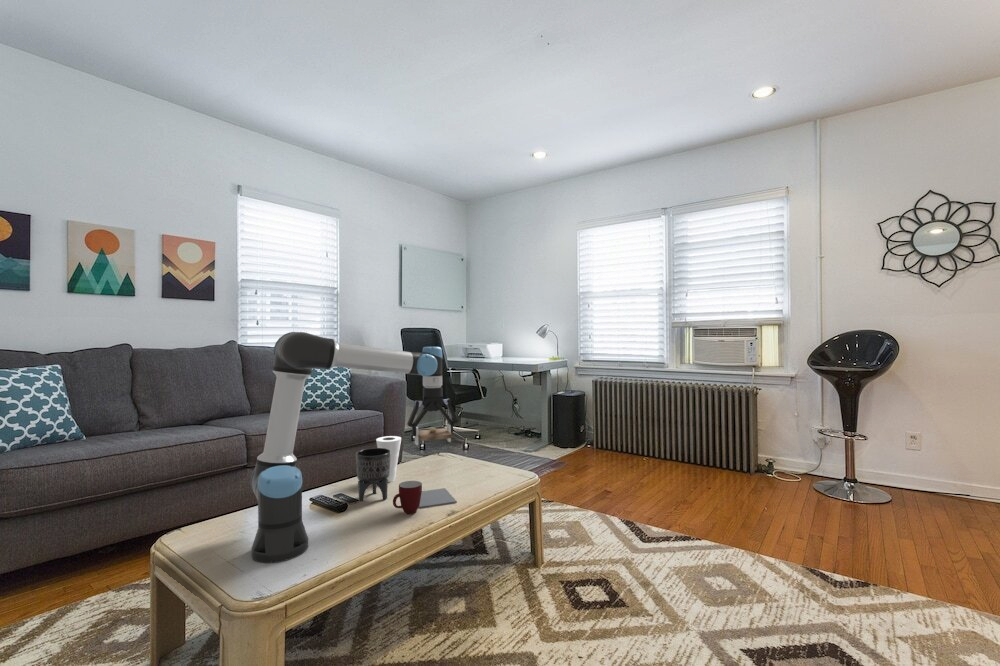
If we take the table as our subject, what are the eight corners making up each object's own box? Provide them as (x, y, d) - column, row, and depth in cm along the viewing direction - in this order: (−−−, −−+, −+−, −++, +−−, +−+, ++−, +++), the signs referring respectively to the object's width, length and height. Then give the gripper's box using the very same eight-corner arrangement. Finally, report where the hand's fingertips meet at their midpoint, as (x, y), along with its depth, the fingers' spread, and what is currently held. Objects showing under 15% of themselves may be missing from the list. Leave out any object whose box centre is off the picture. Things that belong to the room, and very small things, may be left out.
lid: (421, 441, 170) (421, 433, 170) (414, 434, 181) (414, 427, 181) (452, 437, 175) (452, 430, 175) (443, 431, 186) (443, 424, 186)
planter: (365, 506, 170) (364, 458, 170) (350, 497, 180) (350, 451, 180) (396, 498, 178) (396, 452, 178) (381, 489, 188) (380, 446, 188)
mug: (400, 520, 157) (400, 491, 157) (388, 514, 163) (388, 485, 163) (426, 512, 164) (426, 484, 164) (413, 506, 170) (413, 479, 170)
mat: (419, 508, 168) (419, 506, 168) (410, 494, 183) (410, 492, 183) (456, 502, 173) (456, 501, 173) (444, 489, 188) (444, 488, 188)
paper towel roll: (371, 481, 199) (370, 439, 199) (390, 475, 207) (389, 435, 207) (387, 486, 193) (387, 442, 193) (406, 479, 201) (406, 438, 201)
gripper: (402, 389, 170) (403, 448, 170) (465, 386, 179) (466, 441, 179) (399, 387, 177) (399, 443, 177) (459, 384, 186) (460, 437, 186)
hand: (433, 442), depth 178 cm, fingers closed on lid, 12 cm apart
